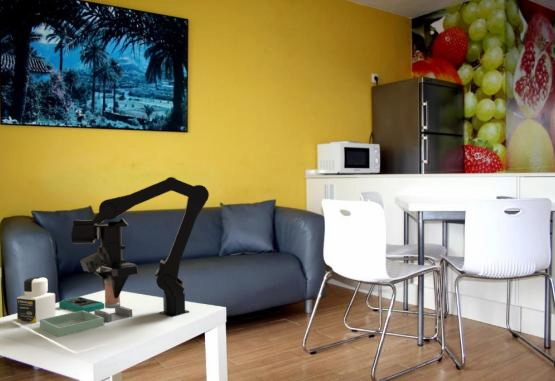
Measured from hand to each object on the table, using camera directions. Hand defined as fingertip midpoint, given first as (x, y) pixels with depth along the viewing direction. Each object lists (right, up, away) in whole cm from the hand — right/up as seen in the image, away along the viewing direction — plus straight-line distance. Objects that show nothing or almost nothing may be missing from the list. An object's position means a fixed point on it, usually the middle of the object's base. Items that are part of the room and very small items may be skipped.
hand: (112, 296), depth 137 cm
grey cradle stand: (0, -6, 0) cm, 6 cm away
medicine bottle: (-22, -7, 0) cm, 23 cm away
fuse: (0, -3, 0) cm, 3 cm away
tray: (-8, -7, -9) cm, 13 cm away
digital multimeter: (-14, -7, +11) cm, 19 cm away
